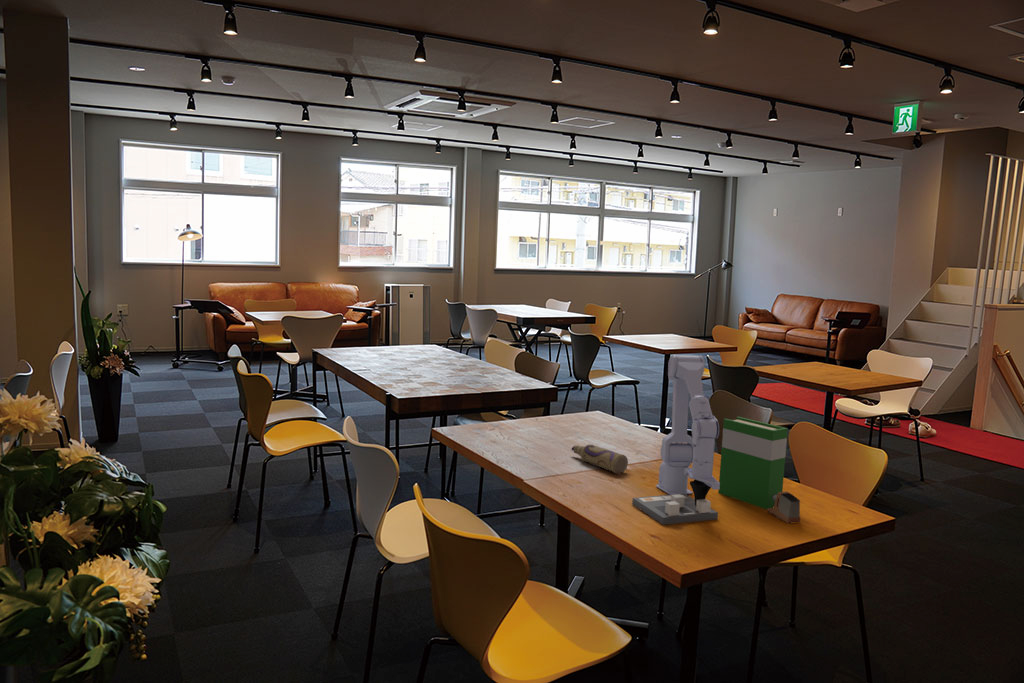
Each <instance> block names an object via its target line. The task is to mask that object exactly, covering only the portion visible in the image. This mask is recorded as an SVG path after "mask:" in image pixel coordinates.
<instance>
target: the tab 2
mask: <svg viewBox="0 0 1024 683" xmlns="http://www.w3.org/2000/svg"><path fill="white" fill-rule="evenodd" d="M711 504H712V502H711V500H708V499H706V498H705V499H701V500H697V504H696V510H697V511H699V512H700V513H706V512H710V508H711V506H712V505H711Z"/></svg>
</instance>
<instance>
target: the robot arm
mask: <svg viewBox="0 0 1024 683" xmlns="http://www.w3.org/2000/svg"><path fill="white" fill-rule="evenodd" d="M668 359H669V360H668V362H667V363H668V365H667V366H668V368H667V376H668V380H670V381H672V386H673V388H672V409H671V410H672V412H671V413H672V415H671V431H670V433H668V434H666V435H665V436H663V437H662V441H661V447H660V458H661V460H662V462H661V463H660V465H659V467H658V468H659V470H658V484H655V487H656V488H658V489H659V490H661V491H663V492H665V493H666V494H667V495H673V494H686V495H692V494H693V495H694V496H693V497H694V499H695V506H696V504H697V500H701V499H706V498H707V495H708V493H709V492H710V490H713V491H717V490H719V489H720V482H719V481H718V480H717V479H716V478H715V476H713V472H714V471H713V470H714V459H715V457H714V456H715V442H716V439H718V438H719V435H720V424H719V421H718V419H717V418H716V415H713V411H712V409H711V405H710V404H711V403H710V400H709V399H708V397H706V396H704V391H703V390H704V389H703V383H702V382H703V381H702V378H703V375H704V372H705V366H706V363H705V358H704V357H703V355H701V354H699V355H688V354H687V355H685V354H684V355H681V354H672V355H671V356H670V357H669V358H668ZM689 396H690V401H689ZM689 410H690V415H691V420H692V423H691V424H692V425H691V436H690V435H689V434H688V420H689V418H688V416H689V413H688V412H689ZM690 466H691V467H690ZM689 479H690V480H692V481H689ZM688 483H689V485H690V487H691V489H692V491H691V490H690V489H688Z"/></svg>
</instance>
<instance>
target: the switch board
mask: <svg viewBox="0 0 1024 683" xmlns="http://www.w3.org/2000/svg"><path fill="white" fill-rule="evenodd" d="M673 495H677V494H673ZM680 495H682V496H684V497H685V503H684V507H680V508H679V515H668V514H667V513H665V503H666V502H671V495H670V494H665V495H664V494H663V495H650V496H641V497H640V496H639V497H632V504H633V505H632V506H634V505H635V506H636V509H638V508H639V509H638V510H640V509H641V510H642V511H641V510H640V511H641V512H643V513H644V512H645V513H644V514H646V515H647V514H648V515H647V516H648V517H650V518H652V519H654V520H655V521H656V522H658V523H659V524H661V525H663V526H664V525H673V524H684V523H694V522H704V521H712V520H713V521H715V520H718V519H719V511H716V510H715V509H714V508H711V507H710V512H706V513H700V512H699V511H697V510H696V506H695V498H693V497H692V496H690V495H689V494H680ZM635 506H634V507H635Z"/></svg>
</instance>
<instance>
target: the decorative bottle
mask: <svg viewBox="0 0 1024 683" xmlns="http://www.w3.org/2000/svg"><path fill="white" fill-rule="evenodd" d="M571 451H573V453H575V454H577V455H579V457H580V458H581V460H582V461H583V462H584V461H586V462H585V463H587V462H589V463H588V464H590V463H591V464H590V465H592V464H594V465H593V466H595V465H596V467H598V466H599V467H598V468H600V467H602V468H601V469H603V468H604V470H606V471H608V470H609V471H608V472H611V471H612V472H611V473H614V474H616V473H620V474H622V473H621V472H623V473H624V472H625V471H626V470H627V468H628V465H629V459H628V457H627V456H626V455H625V454H621V453H618V452H616V451H613V450H610V449H608V448H607V449H606V448H604V447H599V446H597V445H594V444H586V445H584V446H583V445H581V446H580V445H574V446H572V447H571Z"/></svg>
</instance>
